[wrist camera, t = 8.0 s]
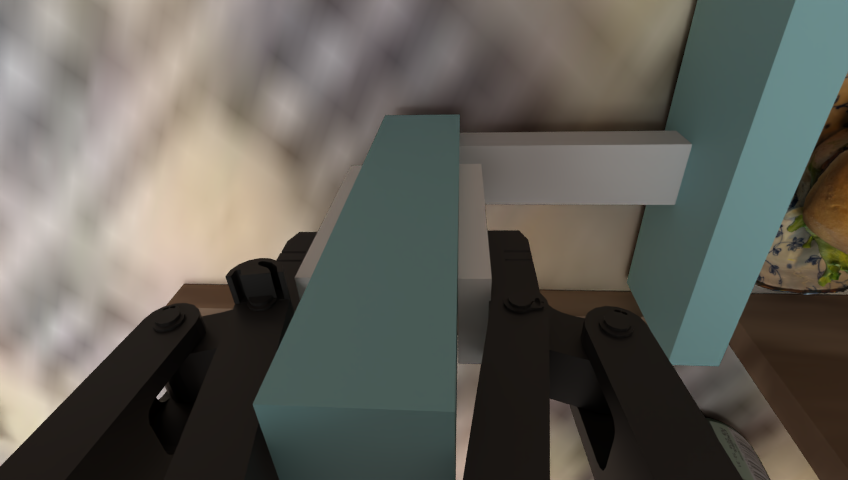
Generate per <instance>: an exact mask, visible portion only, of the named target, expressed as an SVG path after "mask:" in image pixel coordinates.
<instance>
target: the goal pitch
mask: <svg viewBox="0 0 848 480" xmlns="http://www.w3.org/2000/svg"><path fill="white" fill-rule="evenodd" d="M540 293H541V294H542V295H543V296H544V297H545V298H546V299H547V301H548V305H550V306H551V307H552V308H554V309H556V310H558V311H560V312H562V313H566V314H569V315H573V316H577V317H581V318H585V317H586V315H587V313H588V312H589V311H591V310H592V309H594V308H597V307H602V306H613V307H619V308H623V309H626V310H629V311H631V312H633V313H634V314H636V315H638V316H639V317H640V318H641V319H642V320H643V321H644V322H645V323H646V324H647V322H646V320H645V318H644V316H643V314H642V312H641V310H640V308H639V306H638V304H637V302H636V300H635V298H634V296H633V294H632V292H622V291H562V290H540ZM175 303H189V304H193V305H195V306H196V307H197V308H198V309H199V311H200V313H201V316H206V315H211V314H216V313H221V312H225V311H229V310H232V309H233V307H234V305H235V303H234V300H233V297H232V294H231V291H230V288H229V285H201V284H184V285H183V286H182V287H181V288H180V289H179V291H178V292H177V293H176V294H175V295H174V297H173V298H172V299H171V300H170V301H169V303H168V304H167V305H166V306H168V305H172V304H175ZM647 325H648V324H647ZM648 327H649V326H648ZM649 329H650V328H649ZM457 335H458V330H457ZM729 345H730V347H731V348H732V350H733V351H734V353H735V354H736V356H737V357H738V359H739V360H740V362H741V363H742V365H743V366H744V368H745V369H746V370H747V372H748V373H749V375H750V376H751V378H752V379H753V381H754V382H755V384H756V385H757V387H758V388H759V390H760V391H761V393H762V394H763V396H764V397H765V399H766V400H767V402H768V403H769V405H770V406H771V408H772V409H773V411H774V412H775V414H776V415H777V417H778V418H779V420H780V421H781V423H782V424H783V426H784V427H785V429H786V430H787V432H788V433H789V435H790V436H791V438H792V439H793V440H794V442H795V443H796V445H797V446H798V448H799V449H800V451H801V452H802V454H803V455H804V457H805V458H806V460H807V461H808V463H809V464H810V466H811V467H812V469H813V470H814V472H815V473H816V475H817V476H818V478H819V479H820V480H848V295H803V294H750V296H749V299H748V301H747V303H746V305H745V308H744V310H743V312H742V315H741V317H740V319H739V321H738V324H737V326H736V328H735V331H734V333H733V335H732V337H731V340H730V342H729Z"/></svg>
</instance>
